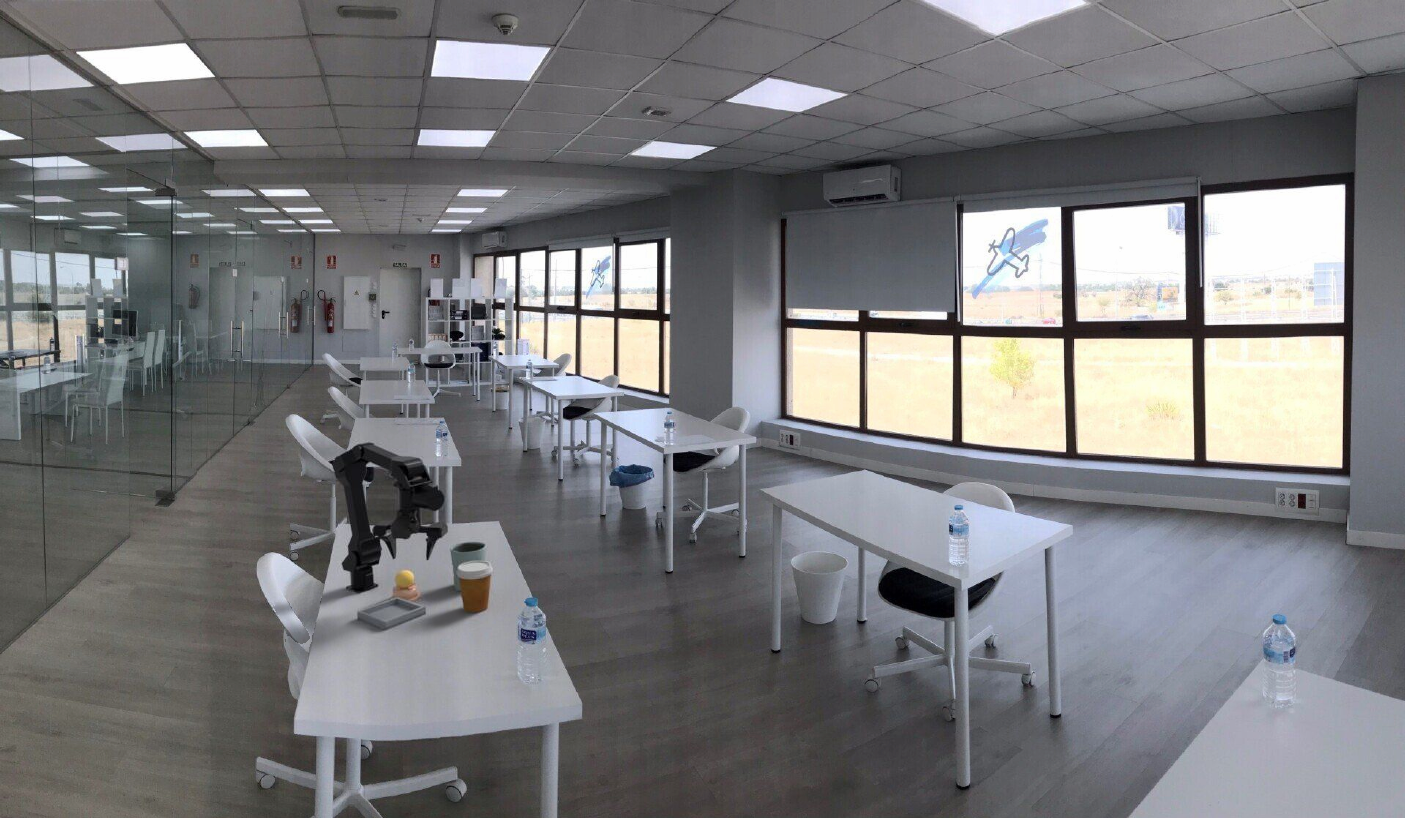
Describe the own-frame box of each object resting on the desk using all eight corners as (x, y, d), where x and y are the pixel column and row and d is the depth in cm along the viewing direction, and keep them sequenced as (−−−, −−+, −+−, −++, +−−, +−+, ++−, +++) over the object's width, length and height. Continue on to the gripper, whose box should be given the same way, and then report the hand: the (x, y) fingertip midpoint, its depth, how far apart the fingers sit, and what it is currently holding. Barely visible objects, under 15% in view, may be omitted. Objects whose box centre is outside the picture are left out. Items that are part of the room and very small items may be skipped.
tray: (357, 619, 195) (357, 611, 195) (397, 604, 205) (397, 596, 205) (386, 629, 189) (385, 622, 188) (425, 613, 199) (425, 606, 198)
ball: (391, 588, 208) (390, 571, 208) (407, 583, 212) (406, 566, 212) (402, 592, 206) (402, 575, 205) (418, 586, 210) (417, 569, 209)
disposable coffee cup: (483, 616, 197) (482, 573, 196) (450, 613, 199) (449, 570, 198) (500, 602, 207) (499, 561, 205) (468, 599, 209) (467, 558, 207)
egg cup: (385, 599, 208) (384, 587, 208) (408, 590, 215) (407, 578, 214) (402, 605, 204) (401, 592, 204) (425, 596, 211) (425, 584, 210)
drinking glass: (459, 595, 212) (457, 554, 210) (446, 584, 220) (444, 545, 218) (492, 587, 218) (491, 547, 217) (479, 577, 226) (478, 539, 225)
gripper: (362, 511, 194) (364, 568, 197) (434, 514, 194) (434, 571, 197) (380, 500, 205) (381, 554, 208) (448, 502, 205) (448, 556, 208)
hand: (411, 559), depth 205 cm, fingers open, 9 cm apart
